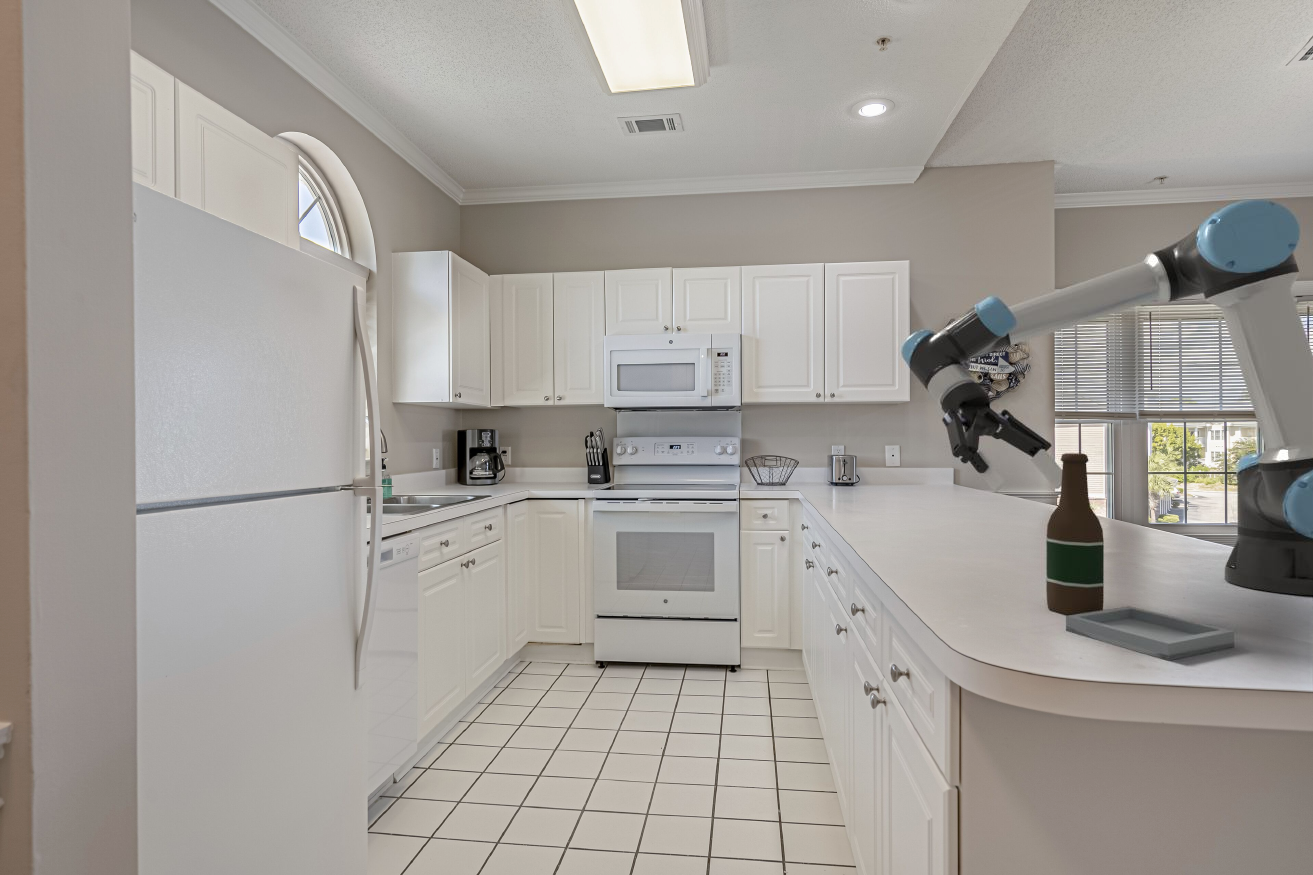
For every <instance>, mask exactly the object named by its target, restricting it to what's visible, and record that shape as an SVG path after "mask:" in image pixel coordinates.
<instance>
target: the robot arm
mask: <svg viewBox="0 0 1313 875" xmlns="http://www.w3.org/2000/svg"><path fill="white" fill-rule="evenodd" d="M1300 236H1301V227H1300V223H1299V221H1298V219H1297V217H1296V215H1295V214H1294V213H1293V212H1292V211H1291V210H1289V209H1288V207H1286V206H1284V205H1282V204H1280V203H1277V202H1274V201H1271V200H1267V199H1258V198H1257V199H1247V200H1246V199H1245V200H1241V201H1236V202H1235V203H1231V204H1229V205H1227V206H1225V207H1223V208H1222V209H1219V210H1216V211H1215V212H1214V213H1212V214H1211V215H1209V216H1208V217H1207V218H1206V219H1205V220H1204V221H1203V222H1202V223H1201V224H1200V226H1198V227H1197V228H1195V229H1194V230H1193V231H1192V232H1190V233H1189V234H1188V235H1186V236H1185V237H1183V238H1181V239H1179V240H1178V241H1176V242H1175V243H1173V244H1171V245H1169V246H1166V247H1164V248H1161V249H1159V250H1156V251H1153V252H1150V253H1148V254H1147V255H1146V256H1145V258H1144V260H1143V261H1142V262H1141V261H1140V262H1138V263H1135V264H1132V265H1129V266H1126V267H1123V268H1120V269H1118V270H1114V271H1111V272H1109V273H1105V274H1103V275H1099V276H1096V277H1093V278H1091V279H1088V280H1085V281H1082V282H1079V283H1076V284H1073V285H1070V286H1067V287H1066V286H1065V287H1064V288H1060V289H1058V290H1055V291H1052V292H1049V293H1047V294H1042V295H1041V296H1037V297H1034V298H1031V299H1028V300H1025V301H1022V302H1019V303H1016V304H1013V305H1010V306H1008V305H1007V304H1005V303H1004V301H1003V300H1002V299H1000V298H999V297H997V296H995V295H990V296H988V297H987V298H985V299H983V300H981V301H980V302H978V303H976V304H975V305H974V306H973V307H972V308H970V309H969V310H967V311H966V312H965V313H963V314H962V315H961V316H960V317H959V316H958V318H956V319H955V320H954V321H952V322H951V323H950V324H948V325H947V326H946V327H945V328H942V329H940V330H938V331H937V332H934V331H933V330H931V329H928V328H927V329H926V328H925V329H921V330H920V331H915V332H913V333H911V335H910V336H908V337H907V339H906V340H905V341H904V342H903V344H902V347H901V352H900V353H901V356H902V359H903V361H904V362H905V363H906V365H907V366H908V368H909V369H910V371H911V372H912V373H913V374H914V376H915V377H916V378H917V379H918V380H919V382H920V383H921V384H922V385H923V386H924V388H925V389H926V390H927V392H928V393H929V394H930V395H931V396H932V398H933V399H934V400H935V402H936V403H937V404H938V406H939V407H940V408H941V410H942V411H943V413H944V414H945V415H944V416H943V417H942V418H941V421H942V423H943V424H944V426H945V427H946V431H947V435H948V439H949V445H950V450H951V454H952V456H953V457H954V458H960V462H961V463H963V464H967V463H970V464H971V466H973V468H974V470H975V471H976V472H977V473H979V474H980V476H981V477H982V478H983V480H984V481H985V482H986V484H987V485H988V486H989V488H990V489H991V491H993V492H994V493H995V492H999V490H1001V489H1002V487H1003V486H1004V485H1005V484H1006V483H1007V482H1008V479H1007V478H1006V476H1005V475H1004V473H1002V471H1001V470H1000V469H999V468H998V466H997V465H996V464H995V463H994V461H993V460H992V458H990V456H989V455H988V454H987V452H986V451H985V450H984V449H980V450H979V445H980V437H983V436H987V437H992V438H994V439H995V440H1002V441H1003V442H1005V443H1007V444H1009V445H1011V446H1012V447H1014V448H1015V449H1017V450H1019V451H1021V452H1022V453H1025V455H1026V454H1027V455H1029V457H1031V459H1030V461H1031V462H1032V463H1033V464H1034V465H1035V467H1036V468H1037V469H1038V471H1039V472H1041V474H1042V475H1043V476H1044V477H1045V479H1046V480H1047V481H1048V482H1049V483H1050V484H1051V486H1052V487H1053V488H1054V489H1055V490H1058V489H1061V482H1062V467H1060V466H1059V465H1058V463H1057V462H1056V461H1055V459H1054V458H1053V457H1052V456H1051V455H1050V454H1049V453H1048V450H1049V449H1051V447H1052V443H1050V442H1049V441H1048V440H1047V439H1045V438H1043V437H1042V436H1041V435H1040V434H1038V433H1036V432H1035V431H1033V429H1031V428H1030V427H1028V426H1026V425H1025V424H1024V423H1023V422H1022V421H1019V420H1018V419H1017V418H1016V417H1015V416H1014V415H1013V414H1012V413H1011V412H1010V411H1009V410H1007V409H1002V411H1001V412H999V413H998V412H996V410H993V408H991V404H990V403H991V398H990V395H989V394H988V392H986V390H984V388H983V387H982V386H981V385H980V384H979V383H978V381H977V380H976V379H975V378H974V376H973V375H972V374H971V373H970V372H969V371H968V370H967V369H966V368H965V366H964V365H963V364H964V363H966V362H968V361H969V360H970V359H972V358H980V357H981V358H982V357H985V356H987V355H989V354H990V353H991V352H995V351H998V350H1003V349H1004V348H1007V347H1010V346H1013V345H1016V344H1020V343H1023V342H1025V341H1029V340H1033V339H1036V338H1039V337H1043V336H1045V335H1048V334H1052V333H1055V332H1058V331H1061V330H1065V329H1067V328H1071V327H1074V326H1077V325H1080V324H1084V323H1087V322H1090V321H1093V320H1097V319H1100V318H1103V317H1107V316H1110V315H1112V314H1116V313H1119V312H1122V311H1126V310H1129V309H1132V308H1135V307H1139V306H1143V305H1145V304H1149V303H1152V302H1155V301H1156V302H1159V303H1162V304H1166V303H1170V302H1173V301H1176V300H1180V299H1184V298H1189V297H1192V296H1196V295H1197V296H1198V295H1201V294H1203V295H1204V296H1203V297H1204V299H1205V301H1206V303H1209V304H1211V305H1214V306H1217V307H1218V308H1220V310H1221V312H1222V316H1223V319H1224V322H1225V325H1226V329H1227V331H1228V336H1229V338H1230V341H1231V343H1232V347H1233V350H1234V353H1235V356H1236V359H1237V362H1238V365H1239V369H1240V371H1241V374H1242V378H1243V380H1244V383H1245V388H1246V390H1247V394H1248V397H1249V399H1250V402H1251V405H1252V408H1253V412H1254V415H1255V418H1256V422H1257V424H1258V427H1259V430H1260V433H1261V437H1262V439H1263V443H1264V446H1265V449H1264V451H1263V452H1262V453H1252V454H1245V455H1244V456H1242V457H1240V458H1239V460H1238V462H1237V463H1238V464H1237V470H1236V478H1237V487H1236V488H1237V534H1236V535H1237V537H1236V542H1235V543H1234V545H1233V548H1232V549H1231V553H1230V554H1229V556H1228V560H1227V561H1226V563H1225V566H1224V580H1225V581H1226V582H1228V583H1230V584H1233V585H1236V586H1240V587H1245V588H1249V589H1254V590H1259V591H1260V590H1261V591H1266V592H1267V591H1268V592H1272V593H1281V594H1291V595H1302V596H1313V352H1312V349H1311V345H1310V342H1309V339H1308V336H1307V333H1306V331H1305V328H1304V325H1303V321H1302V319H1301V316H1300V312H1299V310H1298V306H1297V304H1296V301H1295V298H1294V294H1293V292H1292V286H1293V284H1294V283H1295V281H1297V279H1298V277H1299V276H1301V272H1300V268H1299V267H1298V263H1297V260H1296V257H1295V254H1294V251H1295V250H1296V249H1297V246H1298V243H1299V241H1300Z"/></svg>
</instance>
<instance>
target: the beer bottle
mask: <svg viewBox="0 0 1313 875" xmlns="http://www.w3.org/2000/svg"><path fill="white" fill-rule="evenodd" d="M1088 458H1089V457H1088V455H1087V454H1086V453H1079V452H1078V453H1076V452H1075V453H1073V452H1071V453H1068V452H1067V453H1066V452H1065V453H1063V454H1061V458H1060V461H1061V462H1062V467H1061V469H1062V482H1061V487H1060V496H1059V502H1058V505H1057V506H1056V508H1055V510H1054V511H1053V512H1052V514H1051V515H1050V517H1049V520H1048V522H1047V526H1046V527H1047V528H1046V546H1045V547H1046V549H1045V550H1046V562H1045V563H1046V567H1045V568H1046V574H1045V577H1046V588H1045V590H1046V604H1047V609H1048V610H1049V611H1051V612H1054V613H1058V614H1060V615H1064V616H1069V615H1075V614H1082V613H1088V612H1095V611H1101V610H1104V600H1105V599H1104V590H1105V588H1104V584H1105V583H1104V577H1105V576H1104V572H1105V571H1104V566H1105V565H1104V564H1105V563H1104V562H1105V561H1104V559H1105V558H1104V557H1105V556H1104V555H1105V554H1104V552H1105V551H1104V550H1105V548H1104V547H1105V546H1104V531H1103V526H1102V524H1101V522H1100V519H1099V518H1098V516H1097V515H1096V513H1095V512H1094V510H1092V508H1091V504H1090V503H1091V502H1090V499H1089V498H1090V497H1089V487H1088V486H1089V485H1088V473H1087V463H1088V462H1089V459H1088Z"/></svg>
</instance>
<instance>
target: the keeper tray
mask: <svg viewBox="0 0 1313 875" xmlns="http://www.w3.org/2000/svg"><path fill="white" fill-rule="evenodd" d="M1065 631H1066V632H1070V633H1074V634H1076V635H1080V636H1083V637H1086V638H1087V637H1088V638H1091V639H1094V640H1098V641H1100V642H1104V643H1108V644H1110V645H1111V644H1112V645H1115V646H1118V647H1120V648H1121V647H1122V648H1124V649H1128V650H1132V651H1135V652H1137V653H1140V654H1141V653H1142V654H1145V655H1148V656H1152V657H1155V658H1159V659H1162V660H1166V661H1174V660H1177V659H1181V658H1182V659H1183V658H1187V657H1192V656H1197V655H1201V654H1202V655H1203V654H1207V653H1211V652H1217V651H1222V650H1225V649H1226V650H1227V649H1230V648H1234V647H1235V630H1231V629H1226V628H1223V627H1218V626H1213V625H1210V624H1206V623H1201V622H1197V621H1193V620H1188V619H1184V618H1181V617H1176V616H1171V615H1168V614H1164V613H1160V612H1159V613H1158V612H1157V611H1151V610H1145V609H1143V608H1138V607H1133V606H1122V607H1115V608H1114V607H1113V608H1109V609H1103V610H1101V611H1095V612H1088V613H1082V614H1075V615H1065Z"/></svg>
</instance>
